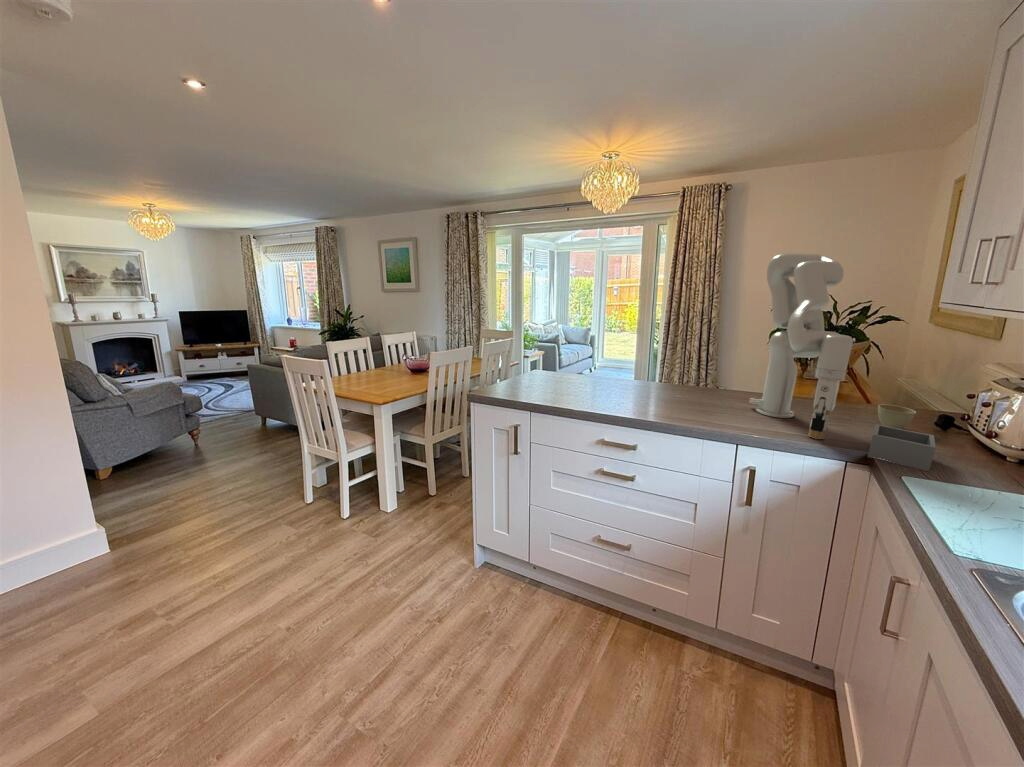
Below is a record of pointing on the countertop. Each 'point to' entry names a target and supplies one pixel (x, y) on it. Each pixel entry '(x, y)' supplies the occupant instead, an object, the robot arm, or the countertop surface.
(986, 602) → the countertop surface
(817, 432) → the sprinkles bottle
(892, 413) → the pale green bowl
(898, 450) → the bin
